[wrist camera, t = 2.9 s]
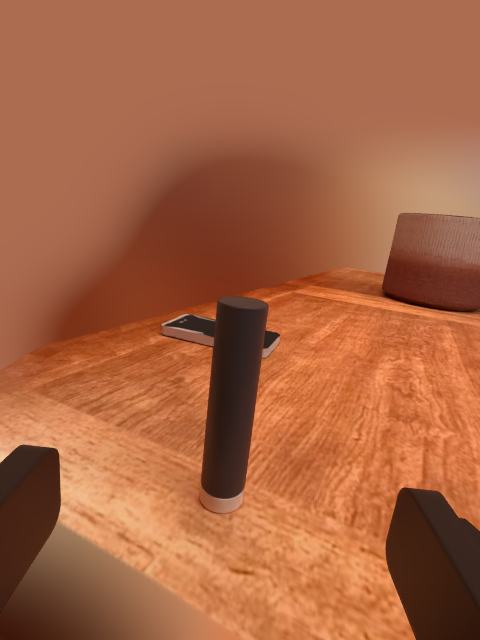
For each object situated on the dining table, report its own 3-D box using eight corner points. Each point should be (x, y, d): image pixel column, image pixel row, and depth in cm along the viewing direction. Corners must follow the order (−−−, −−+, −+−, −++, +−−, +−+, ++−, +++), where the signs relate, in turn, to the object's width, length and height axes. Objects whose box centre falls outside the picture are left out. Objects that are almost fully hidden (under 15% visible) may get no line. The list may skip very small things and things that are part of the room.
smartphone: (266, 349, 44) (159, 325, 48) (265, 359, 44) (158, 334, 49) (281, 333, 51) (186, 313, 55) (280, 342, 51) (185, 321, 56)
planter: (376, 287, 114) (391, 215, 108) (464, 300, 108) (485, 224, 103) (386, 302, 90) (407, 210, 84) (500, 319, 85) (530, 222, 79)
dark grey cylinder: (215, 521, 20) (238, 309, 17) (191, 491, 22) (207, 296, 19) (251, 502, 21) (279, 306, 18) (226, 476, 23) (246, 294, 20)
